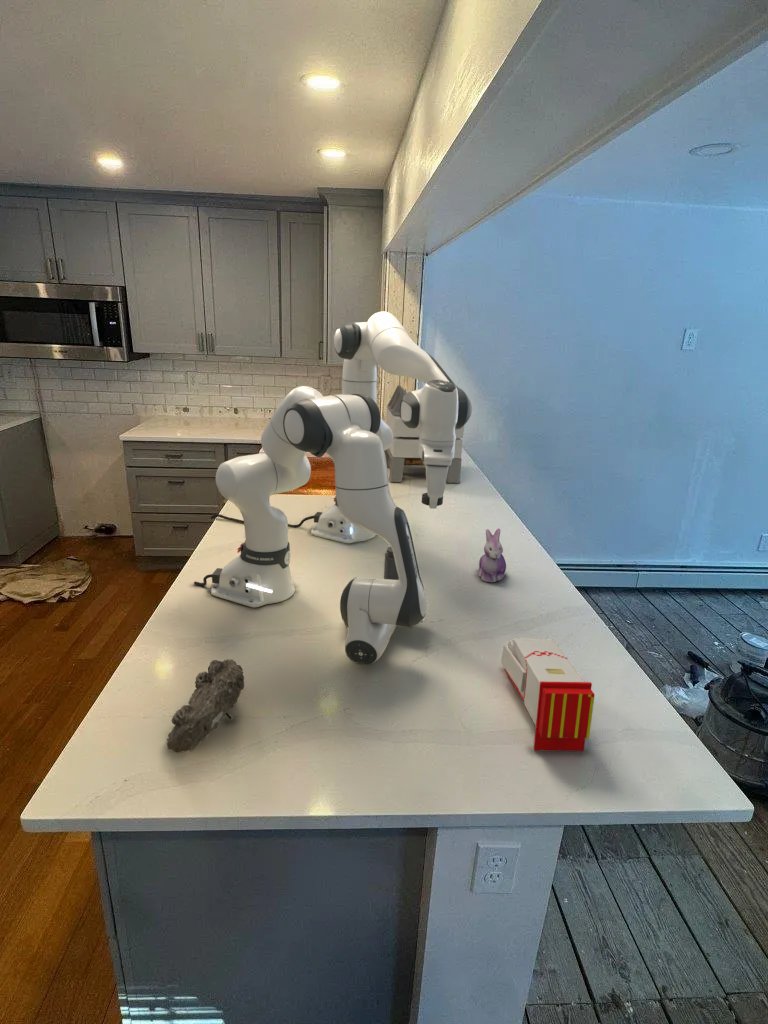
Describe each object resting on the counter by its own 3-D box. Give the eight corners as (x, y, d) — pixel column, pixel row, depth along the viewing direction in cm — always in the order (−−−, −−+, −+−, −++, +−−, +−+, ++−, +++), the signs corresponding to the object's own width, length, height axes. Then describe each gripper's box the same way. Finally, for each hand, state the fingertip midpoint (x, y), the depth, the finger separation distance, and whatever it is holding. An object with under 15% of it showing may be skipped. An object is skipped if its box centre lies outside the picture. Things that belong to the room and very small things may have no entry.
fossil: (192, 660, 117) (244, 628, 112) (224, 691, 120) (276, 661, 115) (142, 746, 98) (202, 712, 93) (182, 779, 101) (242, 748, 96)
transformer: (382, 463, 289) (386, 382, 275) (445, 464, 293) (451, 384, 279) (390, 482, 257) (394, 392, 243) (460, 483, 261) (468, 394, 247)
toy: (549, 621, 128) (604, 690, 99) (544, 676, 131) (595, 758, 101) (496, 620, 128) (535, 688, 98) (492, 675, 130) (528, 757, 101)
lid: (446, 503, 142) (447, 496, 141) (431, 507, 139) (432, 500, 138) (432, 497, 146) (432, 491, 145) (417, 501, 143) (417, 494, 142)
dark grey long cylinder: (378, 610, 149) (381, 547, 143) (393, 606, 151) (396, 544, 145) (388, 618, 145) (392, 554, 139) (403, 613, 148) (407, 550, 142)
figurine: (489, 586, 164) (495, 538, 159) (468, 571, 173) (473, 526, 168) (514, 580, 169) (521, 533, 163) (493, 566, 177) (498, 521, 172)
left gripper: (423, 612, 131) (433, 586, 144) (339, 598, 136) (356, 574, 148) (421, 636, 133) (431, 608, 146) (338, 621, 138) (355, 595, 150)
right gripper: (422, 439, 147) (419, 490, 152) (424, 459, 128) (420, 516, 133) (447, 440, 147) (442, 491, 152) (452, 460, 128) (447, 518, 133)
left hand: (392, 591), depth 147 cm, fingers closed on dark grey long cylinder, 5 cm apart
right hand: (432, 503), depth 142 cm, fingers closed on lid, 5 cm apart
